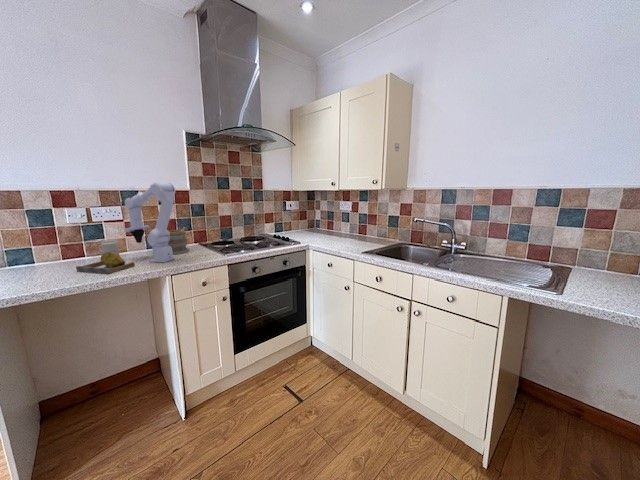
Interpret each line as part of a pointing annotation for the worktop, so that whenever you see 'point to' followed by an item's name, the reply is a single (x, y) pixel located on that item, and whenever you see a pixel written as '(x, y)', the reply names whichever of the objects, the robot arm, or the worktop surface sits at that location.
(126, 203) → the robot arm
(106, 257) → the olive green oval lump
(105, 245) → the can
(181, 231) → the tankard
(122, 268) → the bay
